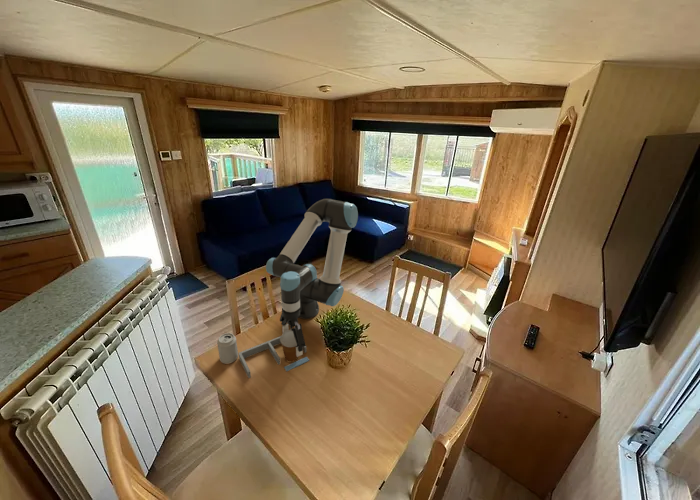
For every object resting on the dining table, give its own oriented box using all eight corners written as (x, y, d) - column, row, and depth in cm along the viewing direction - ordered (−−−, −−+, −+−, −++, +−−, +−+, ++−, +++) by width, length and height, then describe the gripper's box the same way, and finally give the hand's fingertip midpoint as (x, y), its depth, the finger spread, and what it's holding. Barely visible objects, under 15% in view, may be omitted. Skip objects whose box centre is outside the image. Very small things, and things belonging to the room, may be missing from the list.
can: (241, 353, 127) (238, 332, 122) (233, 366, 120) (230, 345, 115) (225, 350, 127) (222, 330, 122) (216, 363, 121) (213, 342, 116)
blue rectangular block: (306, 357, 127) (306, 356, 127) (309, 360, 126) (309, 359, 126) (284, 367, 121) (284, 366, 121) (286, 371, 120) (286, 370, 119)
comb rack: (294, 336, 139) (294, 330, 138) (306, 352, 130) (306, 346, 129) (239, 358, 124) (238, 352, 122) (248, 378, 115) (247, 372, 114)
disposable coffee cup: (276, 359, 125) (275, 338, 120) (290, 345, 133) (289, 326, 128) (293, 368, 122) (292, 347, 116) (306, 354, 129) (306, 333, 124)
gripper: (270, 294, 122) (273, 331, 131) (296, 328, 105) (297, 368, 114) (286, 289, 126) (288, 325, 136) (314, 320, 109) (313, 360, 118)
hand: (292, 345), depth 125 cm, fingers open, 13 cm apart
